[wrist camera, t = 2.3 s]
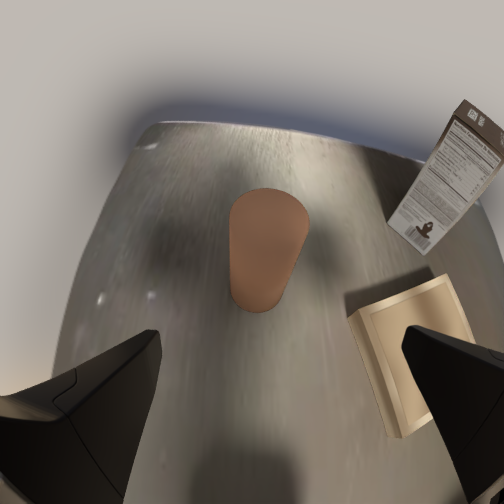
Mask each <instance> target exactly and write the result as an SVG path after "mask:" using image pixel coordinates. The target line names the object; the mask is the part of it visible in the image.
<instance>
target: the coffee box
mask: <svg viewBox="0 0 504 504" xmlns="http://www.w3.org/2000/svg"><path fill="white" fill-rule="evenodd" d="M503 165H504V131H503V130H502V129H501V128H500V127H499V126H498V125H496V124H495V123H494V122H493V121H492V120H491V119H490V118H489V117H487V116H486V115H485V114H483V113H482V112H481V111H480V110H479V109H477V108H476V107H475V106H474V105H472V104H471V103H469V102H468V101H467V100H465V99H464V100H463V102H462V103H461V104H460V105H459V107H458V108H457V109H456V110H455V111H454V113H453V115H452V117H451V119H450V121H449V122H448V124H447V126H446V128H445V130H444V132H443V134H442V135H441V137H440V139H439V141H438V142H437V144H436V146H435V148H434V149H433V151H432V153H431V155H430V156H429V158H428V160H427V161H426V163H425V165H424V166H423V168H422V170H421V171H420V173H419V175H418V176H417V178H416V179H415V181H414V183H413V184H412V186H411V187H410V189H409V190H408V192H407V193H406V195H405V196H404V198H403V200H402V201H401V202H400V204H399V205H398V207H397V208H396V210H395V211H394V213H393V214H392V216H391V217H390V219H389V220H388V222H387V223H388V225H389V226H391V227H392V228H393V229H394V230H395V231H396V232H398V233H399V234H400V235H401V236H402V237H403V238H404V239H406V240H407V241H408V242H409V243H410V244H411V245H412V246H413V247H415V248H416V249H417V250H418V251H419V252H420V253H421V254H422V255H423V256H425V255H426V254H427V253H428V252H429V251H430V250H431V249H432V248H433V247H434V246H435V245H436V244H437V243H438V242H439V241H440V240H441V239H442V238H443V236H444V235H445V234H446V233H447V232H448V231H449V230H450V229H451V228H452V227H453V226H454V225H455V224H456V223H457V221H458V220H459V219H460V218H461V217H462V216H463V215H464V214H465V213H466V211H467V210H468V209H469V208H470V207H471V206H472V205H473V203H474V202H475V201H476V200H477V199H478V198H479V196H480V195H481V194H482V193H483V191H484V190H485V189H486V188H487V186H488V185H489V184H490V183H491V181H492V180H493V179H494V178H495V176H496V175H497V173H498V172H499V171H500V170H501V168H502V167H503Z"/></svg>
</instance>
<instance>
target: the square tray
mask: <svg viewBox="0 0 504 504" xmlns="http://www.w3.org/2000/svg"><path fill="white" fill-rule="evenodd" d="M347 319H348V322H349V324H350V327H351V329H352V332H353V335H354V337H355V340H356V343H357V345H358V348H359V351H360V354H361V356H362V359H363V362H364V365H365V368H366V370H367V373H368V376H369V379H370V382H371V385H372V388H373V391H374V394H375V397H376V400H377V403H378V407H379V410H380V413H381V416H382V420H383V423H384V426H385V430H386V433H387V436H388V437H392V438H402V439H403V438H404V437H406V436H408V435H409V434H411V433H412V432H414V431H415V430H417V429H418V428H420V427H421V426H423V425H424V424H426V423H427V422H428V421H430V420H431V419H433V417H432V415H431V413H430V410H429V408H428V406H427V404H426V402H425V400H424V398H423V396H422V394H421V392H420V391H419V389H418V387H417V385H416V383H415V381H414V379H413V376H412V374H411V371H410V369H409V366H408V364H407V362H406V359H405V357H404V354H403V352H402V349H401V344H402V341H403V337H404V334H405V331H406V328H407V327H408V326H410V325H419V326H422V327H425V328H428V329H431V330H434V331H437V332H440V333H443V334H446V335H449V336H452V337H455V338H458V339H461V340H464V341H467V342H470V343H473V344H476V343H475V340H474V337H473V334H472V332H471V329H470V326H469V324H468V321H467V318H466V316H465V313H464V311H463V309H462V306H461V304H460V302H459V299H458V297H457V295H456V292H455V290H454V288H453V286H452V284H451V282H450V280H449V277H448V275H447V273H446V274H444V275H442V276H439V277H437V278H435V279H433V280H430V281H428V282H426V283H424V284H421V285H419V286H417V287H414V288H412V289H409V290H407V291H404V292H402V293H399V294H397V295H394V296H392V297H389V298H387V299H384V300H382V301H379V302H376V303H374V304H371V305H368V306H365V307H363V308H360V309H358V310H357V311H355V312H354V313H353V314H352V315H351V316H349V317H348V318H347Z"/></svg>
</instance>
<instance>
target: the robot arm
mask: <svg viewBox="0 0 504 504" xmlns="http://www.w3.org/2000/svg"><path fill="white" fill-rule="evenodd" d="M401 349H402V352H403V354H404V357H405V359H406V362H407V364H408V366H409V369H410V371H411V374H412V376H413V379H414V381H415V383H416V385H417V387H418V389H419V391H420V392H421V394H422V396H423V398H424V400H425V402H426V404H427V406H428V408H429V410H430V413H431V415H432V417H433V419H434V421H435V423H436V425H437V427H438V429H439V432H440V434H441V436H442V438H443V441H444V443H445V445H446V447H447V450H448V452H449V454H450V457H451V459H452V461H453V465H454V467H455V470H456V472H457V475H458V477H459V480H460V483H461V485H462V488H463V491H464V494H465V497H466V500H467V502H468V504H471V503H472V502H474V501H475V500H476V499H478V498H479V497H481V496H482V495H483V494H485V493H486V492H487V491H489V490H490V489H491V488H493V487H494V486H495V485H496V484H498V483H499V482H500V481H501V480H503V479H504V353H501V352H498V351H495V350H491V349H487V348H485V347H482V346H479V345H476V344H473V343H470V342H467V341H464V340H461V339H458V338H455V337H452V336H449V335H446V334H443V333H440V332H437V331H434V330H431V329H428V328H425V327H422V326H419V325H410V326H408V327H407V328H406V331H405V334H404V337H403V341H402V344H401ZM161 359H162V347H161V340H160V334H159V331H157V330H149V329H148V330H145V331H143V332H141V333H139V334H137V335H136V336H134V337H132V338H130V339H128V340H126V341H124V342H122V343H121V344H119V345H117V346H115V347H113V348H111V349H109V350H107V351H105V352H104V353H102V354H100V355H98V356H96V357H94V358H92V359H90V360H88V361H86V362H84V363H82V364H81V365H79V366H77V367H76V368H73V369H71V370H69V371H67V372H65V373H63V374H61V375H59V376H57V377H55V378H52V379H50V380H47V381H45V382H43V383H40V384H38V385H35V386H33V387H30V388H27V389H25V390H22V391H19V392H17V393H14V394H11V395H7V396H0V504H123V501H124V500H123V499H124V496H125V492H126V489H127V485H128V481H129V477H130V474H131V470H132V467H133V463H134V459H135V456H136V453H137V449H138V446H139V442H140V439H141V436H142V432H143V429H144V426H145V423H146V419H147V416H148V413H149V410H150V407H151V404H152V401H153V398H154V394H155V390H156V385H157V380H158V374H159V369H160V364H161ZM490 504H504V488H503V489H502V490H500V491H499V492H498V493H497V494H496V495H495V496H494V497H492V498H491V501H490Z"/></svg>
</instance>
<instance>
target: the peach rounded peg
mask: <svg viewBox="0 0 504 504" xmlns="http://www.w3.org/2000/svg"><path fill="white" fill-rule="evenodd" d="M309 225H310V222H309V216H308V213H307V211H306V209H305V208H304V206H303V205H302V204H301V203H300V202H299V201H298V200H297V199H296V198H295V197H293V196H292V195H290V194H288V193H286V192H283V191H280V190H276V189H268V188H263V189H256V190H252V191H249V192H247V193H245V194H243V195H242V196H240V197H239V198H238V199H237V200H236V201H235V202H234V204H233V205H232V208H231V210H230V215H229V243H230V291H231V295H232V298H233V300H234V301H235V303H236V304H237V305H238V306H239V307H241V308H242V309H244V310H246V311H249V312H253V313H261V312H265V311H268V310H270V309H272V308H273V307H274V306H276V305H277V303H278V302H279V301H280V299H281V296H282V294H283V292H284V289H285V287H286V285H287V282H288V280H289V278H290V275H291V273H292V270H293V268H294V266H295V263H296V261H297V258H298V256H299V254H300V251H301V249H302V246H303V244H304V241H305V239H306V236H307V234H308V231H309Z"/></svg>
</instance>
